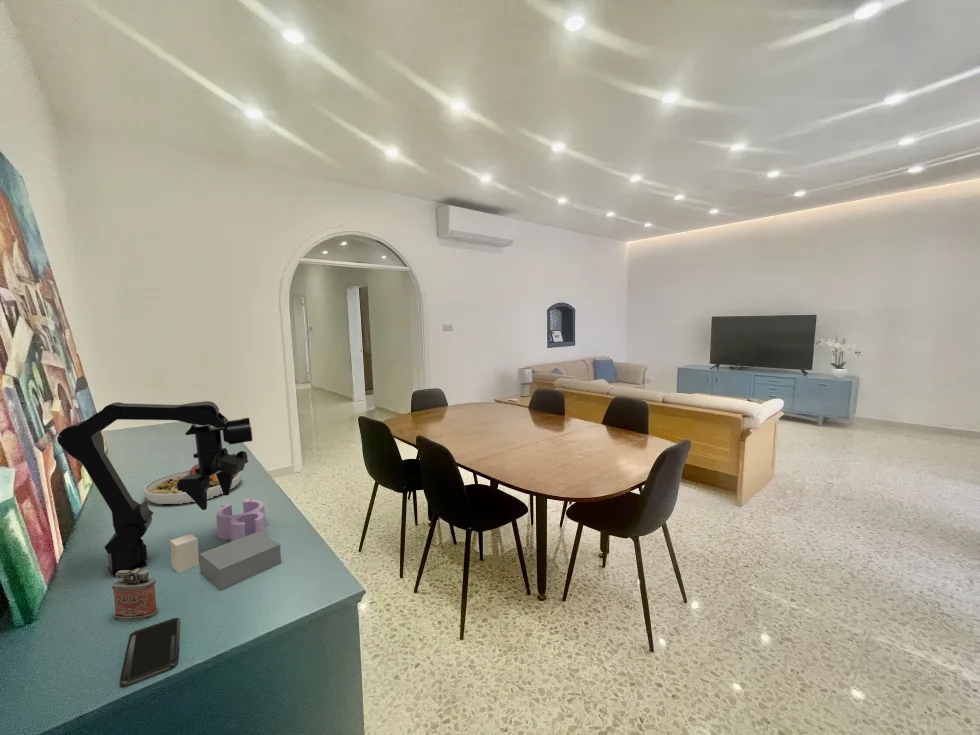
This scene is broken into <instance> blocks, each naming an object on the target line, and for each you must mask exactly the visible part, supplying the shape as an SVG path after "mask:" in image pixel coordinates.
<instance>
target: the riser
mask: <svg viewBox="0 0 980 735" xmlns="http://www.w3.org/2000/svg"><path fill="white" fill-rule="evenodd" d="M281 550H282V549H281V544H280V543H278V542H277V541H275V540H273V539H271V538H270V537H269V536H267V535H266V534H265V535H263V534H262V533H260V532H256V533H253V534H251V535H248V536H245V537H243V538H240V539H237V540H235V541H232V542H231V541H230V542H226V543H224V544H222V545H220V546H216V547H214V548H211V549H208V550H205V551H203V552H200V553H199V570H200V573H201V575H202V576H204V577H205V578H206V579H207V580H208V581H210V582H211V583H212V584H213V585H214V586H216V588H217V589H218V590H220V591H222V590H224V589H227V588H229V587H230V586H233V585H236V584H237V583H240V582H242V581H245V580H246V579H248V578H251V577H253V576H255V575H258V574H259V573H262V572H265V571H266V570H268V568H269V569H271V568H272V567H275V566H277V565H280V564H281V563H282V556H281V553H282V552H281Z"/></svg>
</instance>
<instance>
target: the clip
mask: <svg viewBox="0 0 980 735" xmlns="http://www.w3.org/2000/svg"><path fill="white" fill-rule="evenodd" d="M220 505H221V507H220V508H219V509H218V510H216V512H215V515H216V517H215V518H216V533H217V534H216V535H217V538H219V539H221V540H229V541H230V542H232V541H235V540H237V539H240V538H243V537H245V536H248V535H251V534H253V533H256V532H260V533H262V534H263V535H265V536H266V531H265V529H266V528H265V527H264V526H266V517H265V502H263V501H262V500H258V499H252V498H251V497H247V498H245V499H244V500H243V501H242V505H243V513H240V514H239V513H238V514H233V506H232V503H222V504H220Z"/></svg>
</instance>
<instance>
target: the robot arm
mask: <svg viewBox="0 0 980 735" xmlns="http://www.w3.org/2000/svg"><path fill="white" fill-rule="evenodd" d="M118 420H122V421H123V420H125V421H126V420H128V421H129V420H131V421H132V420H133V421H137V420H139V421H140V420H141V421H176V422H182V423H185V424H191V426H190V428H189V429H188V430H187V431H186V432H185V435H186V436H190V435H194V438H195V445H196V446H195V447H196V453H194V454H193V459H197V461H198V463H197V464H199V468H197V469H195V473H201V474H194V475H188V476H186V477H184V478H182V479H180V480H179V481H178V482H177V490H178V491H182V492H186V493H187V494H188V495H189V496H190V497H191V498H192V499H193V500H194V501H195V502H194V503H196V505H197V506H198V507H199V508H200V509H201V510H202V511H204V510H205V511H206V510H207V509H208V499H207V490H208V489H209V487H210V486H211V485H209V483H210V477H212V476H214V475H215V474H216V476H217V478H218V481H219V484H220V486H221V489H222V491H223V493H224V494H223V495H224V496H229V495H230V492H231V490H230V488H231V484H232V480H233V477H234V475H235V474H237V473H238V472H240V471H241V472H242V471H244V468H245V465H246V464H248V463H249V460H248V454H247V451H244V450H241V451H238V452H237V453H236V454H235V453H233V454H230V453H229V452H228V451H229V450H228V449H227V448H226V447H223V443H222V442H224V443H226V444H228V445H229V446H230V445H236V444H243V443H250V442H253V429H252V427H251V420H250V417H244V418H239V419H233V420H229V419H228V418H227V417H226V416H225V415H224V414H222V413H221V412H220V409H219V405H217V404H216V403H215V402H213V401H208V400H206V401H205V400H204V401H198V402H190V403H183V404H182V403H181V404H162V403H161V404H160V403H159V404H157V403H154V404H153V403H123V402H121V401H120V402H119V401H118V402H117V401H116V402H111V403H109V404H108V405H106V406H104V407H103V408H102V409H101V410H100V411H98V412H96V413H95V414H93V415H92V416H90V417H89V418H87V419H85V420H84V421H79V422H75V423H74V424H72V425H70V426H67V427H65V428H63V429H62V430H61V431H60V432H59V434H58V436H57V439H56V440H57V443H58V445H59V446H60V447H61V448H62V449H63V450H64V451H65V452H66V453H67V455H69V456H70V457H72V458H73V459H75V460H77V461H78V462H80V463H81V464H82V466H83V467H84V469H85V471H86V473H87V474H88V476H89V477H90V478H91V480H92V483H94V486H95V487H96V489H97V490H98V492H99V493H100V495H101V497H102V498H103V501H105V503H106V505H107V506H108V508H109V510H110V511H111V516H112V526H113V530H114V534H113V535H112V536H111V538H110V539H109V540H108V542H107V543H106V544H105V546H104V550H105V551H106V552H107V554H108V566H107V567H106V569H107V570H108V572H109V573H110V574H111V576H112V577H114V578H116V573H117V572H118V571H120V570H130V571H134V570H135V569H137V568H140V569H141V568H143V567H146V566H147V565H148V563H147V561H148V553H147V551H148V550H147V545H146V543H145V542H144V540H143V539H142V537H143V536H144V535H145V534H146V533H147V531H148V529H149V527H150V526H151V524H152V522H153V514H154V511H152V510H151V509H150V508H149V506H148V502H147V501H146V500H145V501H142V502H141V503H139V502H137V501H136V500H134V499H133V497H132V495H131V494H130V492H129V490H128V489H127V487H126V485H125V484H124V482H123V481H122V479H121V477H120V475H119V474H118V472H117V471H116V469H115V467H114V465H113V463H112V462H111V460H110V459H109V457H108V456H107V454H106V451H105V442H104V441H105V440H104V437H103V435H102V431H103V430H104V429H106V428H108V426H110V425H111V424H113V423H114V422H116V421H118ZM221 431H222V434H221ZM222 437H223V441H222Z"/></svg>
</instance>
